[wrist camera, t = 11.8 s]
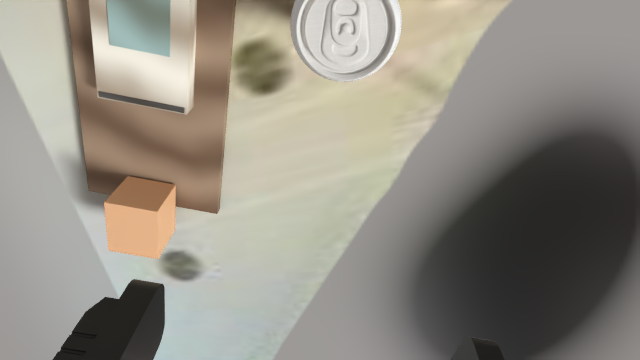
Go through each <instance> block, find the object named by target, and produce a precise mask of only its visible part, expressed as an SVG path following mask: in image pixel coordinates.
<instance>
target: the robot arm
mask: <svg viewBox="0 0 640 360" xmlns="http://www.w3.org/2000/svg"><path fill="white" fill-rule="evenodd" d="M164 324H165V300H164V285H163V284H159V283H153V282H147V281H141V280H135V279H134V280H132V281H131V282H130V283H129V284H128V286H127V287H126V289H125V291H124V292H123V294H122V295H121V297H120V299H114V298H108V297H105V298H104V299H102V300H101V301H100V302H99V303H97V304H96V305H94V306H93V307H92V308H90V309H89V310H88V311H86V312H85V314H84V315H83V317H82V318H81V319H80V321H79V322H78V324H77V325H76V327H75V328H74V330H73V331H72V334H71V335H69V337H68V338H67V340H66V341H65V343H64V344H63V346H62V347H61V350H60V352H58V353H57V354H56V356H55V357H54V359H53V360H153V358H154V356H155V354H156V352H157V350H158V347H159V345H160V342H161V339H162V335H163V331H164ZM451 360H504V357H503V355H502V353H501V350H500V347H499V346H498V344H497V343H496V342H494V341H491V340H485V339H478V338H473V337H464V338H463V339H462V341H461V343H460V345H459V346H458V348H457V350H456V352H455V354H454V355H453V357H452V359H451Z"/></svg>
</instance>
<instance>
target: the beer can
mask: <svg viewBox="0 0 640 360" xmlns="http://www.w3.org/2000/svg"><path fill="white" fill-rule="evenodd" d="M290 23H291V36H292V40H293V43H294V46H295V49H296V51H297V53H298V55H299V56H300V58H301V59H302V61H303V62H304V63H305V64H306V65H307V66H308V67H309V68H310V69H311V70H312V71H314V72H315V73H317V74H318V75H320V76H322V77H324V78H327V79H330V80H334V81H341V82H349V81H356V80H360V79H363V78H365V77H368V76H370V75H371V74H373V73H375V72H376V71H378V70H379V69H380V68H381V67H382V66H383V65H384V64H385V63H386V62H387V61H388V60H389V58H390V57H391V56H392V54H393V52H394V50H395V48H396V46H397V44H398V41H399V38H400V33H401V11H400V6H399V3H398V0H295V3H294V6H293V9H292V14H291V22H290Z"/></svg>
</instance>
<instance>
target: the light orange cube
mask: <svg viewBox="0 0 640 360" xmlns="http://www.w3.org/2000/svg"><path fill="white" fill-rule="evenodd" d="M175 203H176V185H174V184H168V183H163V182H158V181H152V180H147V179H141V178H136V177H130V176H128V177H127V178H126V179H125V180H124V181H123V182H122V183H121V184H120V185H119V186H118V188H117V189H116V190H115V191H114V192H113V193H112V194H111V195H110V196H109V197H108V199H107V200H106V201H105V202H104V208H105V218H106V228H107V239H108V249H109V251H114V252H120V253H126V254H131V255H137V256H143V257H149V258H155V259H158V258H159V257H160V255H161V253H162V251H163V250H164V248H165V246H166V244H167V243H168V241H169V239H170V238H171V236H172V234H173V232H174V231H175Z"/></svg>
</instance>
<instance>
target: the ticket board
mask: <svg viewBox="0 0 640 360" xmlns="http://www.w3.org/2000/svg"><path fill="white" fill-rule="evenodd" d="M66 2H67V10H68V19H69V27H70V36H71V44H72V53H73V61H74V70H75V78H76V87H77V95H78V104H79V112H80V121H81V129H82V138H83V146H84V155H85V163H86V172H87V180H88V189H89V191H93V192H99V193H105V194H110V195H111V194H112V193H113V192H114V191H115V190H116V189H117V188H118V186H119V185H120V184H121V183H122V182H123V181H124V180H125V179H126V178H127V177H128V176H130V177H136V178H141V179H147V180H152V181H158V182H163V183H168V184H174V185H176V203H175V206H177V207H182V208H188V209H194V210H199V211H205V212H210V213H216V214H217V213H218V211H219V209H220V196H221V183H222V171H223V158H224V145H225V133H226V120H227V107H228V94H229V82H230V69H231V56H232V44H233V31H234V18H235V5H236V0H66Z"/></svg>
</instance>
